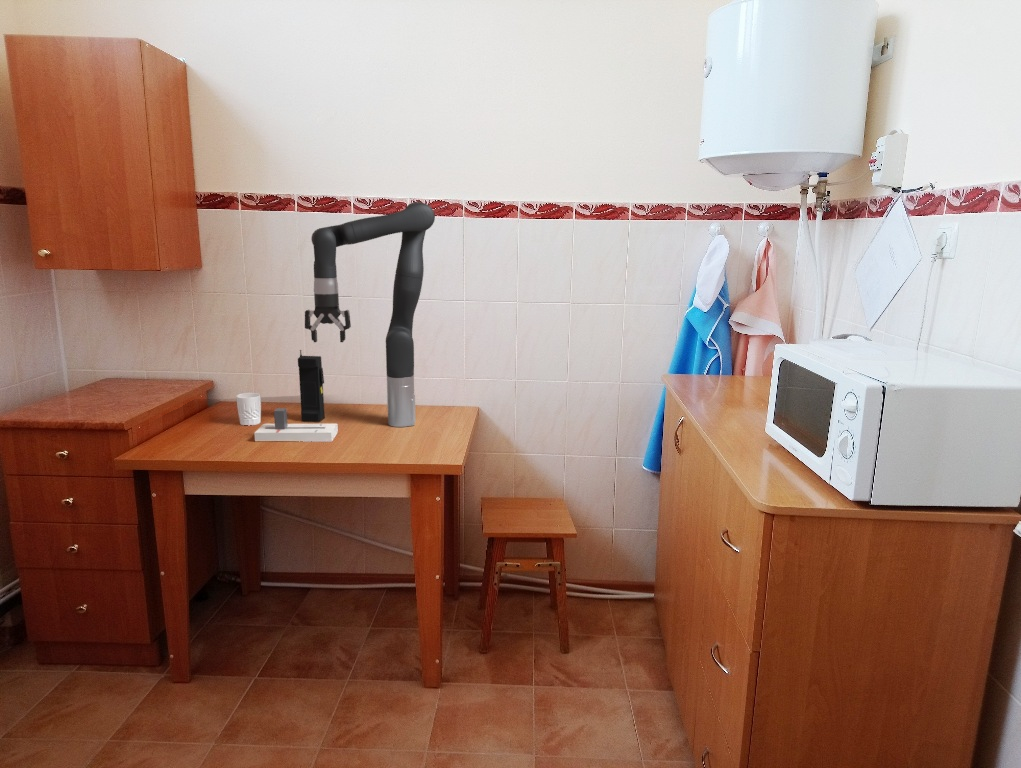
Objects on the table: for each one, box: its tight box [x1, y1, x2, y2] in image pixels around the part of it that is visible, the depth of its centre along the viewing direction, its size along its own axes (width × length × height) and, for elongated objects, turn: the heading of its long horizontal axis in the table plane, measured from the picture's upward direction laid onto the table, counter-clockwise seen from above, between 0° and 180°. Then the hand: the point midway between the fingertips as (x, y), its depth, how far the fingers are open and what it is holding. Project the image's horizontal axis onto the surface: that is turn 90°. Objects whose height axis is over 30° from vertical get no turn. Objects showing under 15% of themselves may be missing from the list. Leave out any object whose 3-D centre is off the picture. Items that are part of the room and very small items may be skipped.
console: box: [254, 422, 339, 443], centre depth 223 cm, size 24×10×3 cm, turn 93°
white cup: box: [235, 392, 262, 427], centre depth 237 cm, size 8×8×10 cm
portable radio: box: [297, 349, 326, 423], centre depth 240 cm, size 8×6×25 cm
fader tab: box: [273, 407, 288, 429], centre depth 222 cm, size 3×4×6 cm
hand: (328, 342), depth 224 cm, fingers open, 8 cm apart
